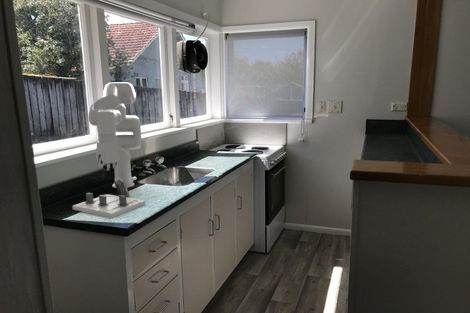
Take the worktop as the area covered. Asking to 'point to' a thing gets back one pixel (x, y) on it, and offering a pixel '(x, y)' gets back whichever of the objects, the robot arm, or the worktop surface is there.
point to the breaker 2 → (102, 200)
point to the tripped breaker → (122, 200)
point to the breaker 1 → (89, 198)
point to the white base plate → (109, 206)
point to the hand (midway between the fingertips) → (110, 177)
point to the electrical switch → (121, 187)
